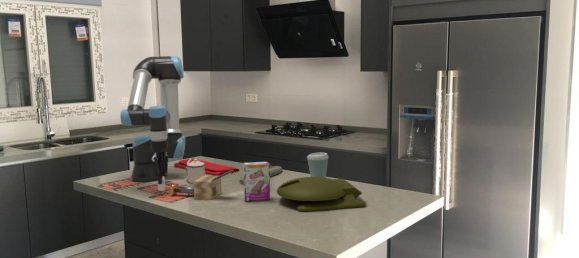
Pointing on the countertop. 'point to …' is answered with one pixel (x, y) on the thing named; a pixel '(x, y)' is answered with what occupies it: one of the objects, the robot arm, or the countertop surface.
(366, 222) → the countertop surface
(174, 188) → the lynch pin
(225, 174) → the plate
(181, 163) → the red long flat piece
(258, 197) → the candy bar box
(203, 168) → the teacup with lid
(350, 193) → the spaceship
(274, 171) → the long grey stone
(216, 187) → the oak block
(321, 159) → the disposable coffee cup
